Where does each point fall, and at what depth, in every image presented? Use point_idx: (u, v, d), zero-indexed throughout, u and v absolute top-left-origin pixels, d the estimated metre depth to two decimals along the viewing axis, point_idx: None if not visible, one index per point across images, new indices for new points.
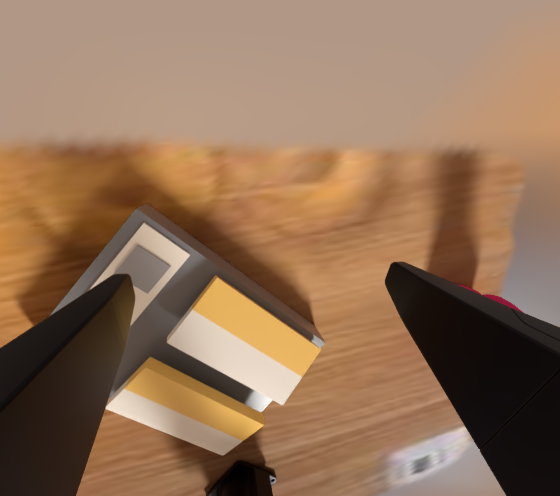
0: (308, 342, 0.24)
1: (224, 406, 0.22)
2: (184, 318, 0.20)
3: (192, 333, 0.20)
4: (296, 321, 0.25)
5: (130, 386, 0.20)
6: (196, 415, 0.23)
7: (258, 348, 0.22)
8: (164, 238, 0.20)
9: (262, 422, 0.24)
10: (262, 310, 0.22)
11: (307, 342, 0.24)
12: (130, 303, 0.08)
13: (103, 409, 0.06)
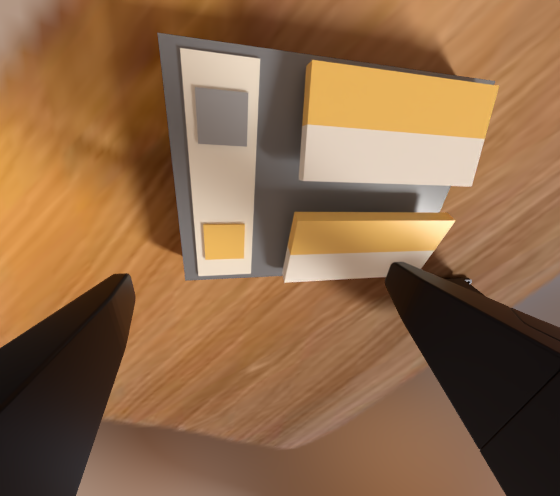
0: (477, 85, 0.16)
1: (401, 221, 0.18)
2: (304, 143, 0.15)
3: (324, 154, 0.15)
4: (441, 74, 0.17)
5: (294, 249, 0.18)
6: (373, 247, 0.20)
7: (412, 130, 0.16)
8: (216, 55, 0.13)
9: (451, 218, 0.19)
10: (394, 73, 0.14)
11: (475, 85, 0.16)
12: (130, 303, 0.08)
13: (103, 408, 0.06)
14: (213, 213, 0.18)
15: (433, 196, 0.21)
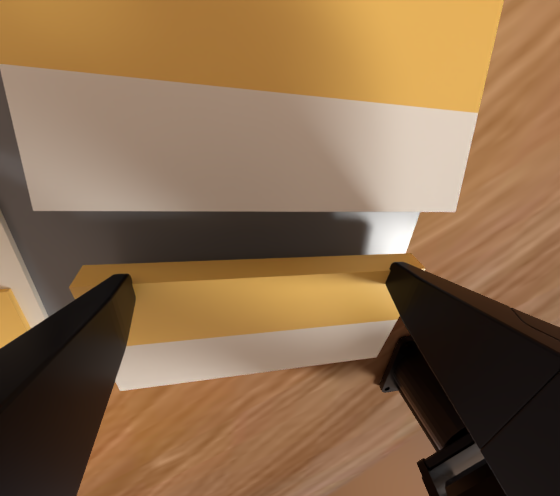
0: None
1: (315, 276, 0.09)
2: None
3: (77, 145, 0.06)
4: None
5: None
6: (276, 323, 0.10)
7: (307, 90, 0.07)
8: None
9: (418, 265, 0.10)
10: None
11: None
12: (130, 303, 0.08)
13: (104, 409, 0.06)
14: None
15: (392, 225, 0.12)
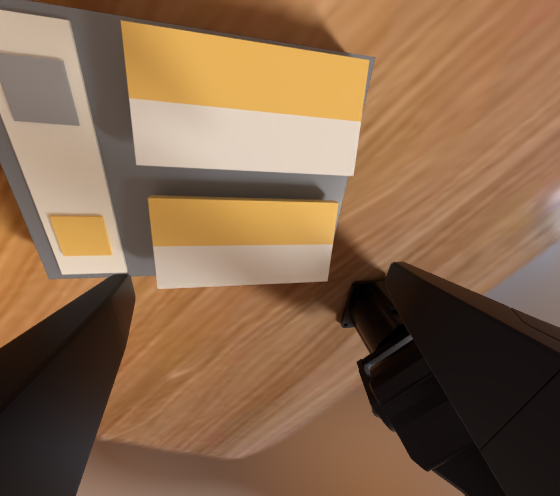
0: (341, 58, 0.14)
1: (274, 202, 0.17)
2: None
3: (158, 134, 0.13)
4: None
5: (156, 238, 0.16)
6: (255, 238, 0.18)
7: (267, 109, 0.14)
8: (10, 14, 0.11)
9: (335, 202, 0.18)
10: (232, 40, 0.12)
11: (339, 59, 0.14)
12: (130, 303, 0.08)
13: (103, 409, 0.06)
14: (60, 203, 0.16)
15: (329, 189, 0.19)
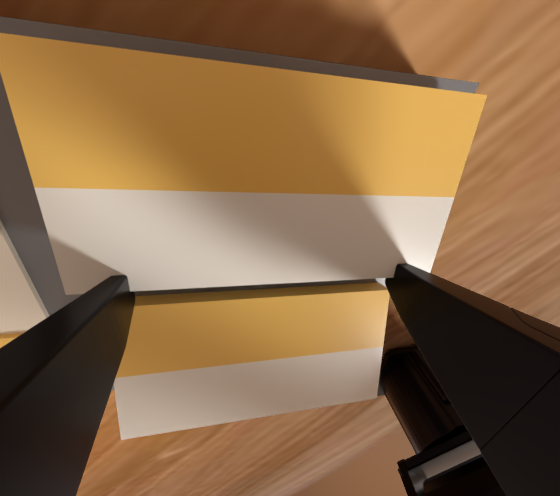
0: (439, 94, 0.07)
1: (298, 297, 0.11)
2: None
3: (101, 244, 0.07)
4: None
5: None
6: (271, 350, 0.12)
7: (299, 189, 0.08)
8: None
9: (384, 288, 0.12)
10: (237, 68, 0.06)
11: (435, 95, 0.07)
12: (130, 303, 0.08)
13: (103, 409, 0.06)
14: None
15: None
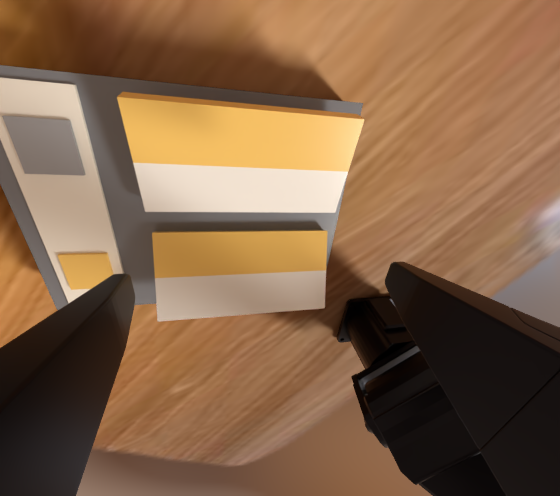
0: (336, 119, 0.14)
1: (267, 232, 0.18)
2: None
3: (162, 189, 0.15)
4: None
5: (158, 270, 0.17)
6: (251, 266, 0.19)
7: (260, 165, 0.15)
8: (21, 81, 0.12)
9: (324, 230, 0.20)
10: (227, 109, 0.13)
11: (334, 120, 0.14)
12: (130, 303, 0.08)
13: (103, 409, 0.06)
14: (67, 243, 0.17)
15: (322, 220, 0.20)
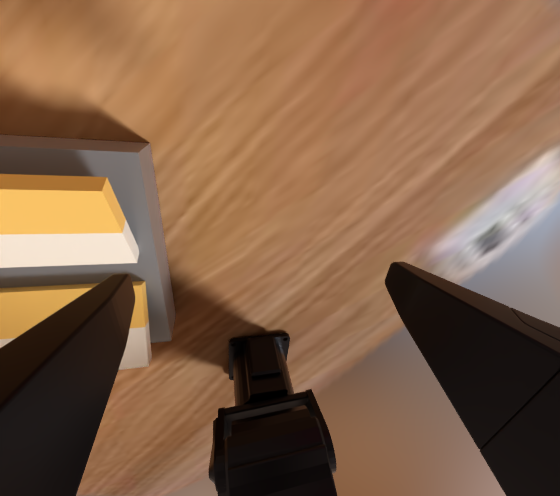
0: (62, 192, 0.12)
1: (64, 290, 0.17)
2: None
3: None
4: (56, 147, 0.14)
5: None
6: None
7: (1, 232, 0.13)
8: None
9: (139, 284, 0.18)
10: None
11: (60, 193, 0.12)
12: (130, 303, 0.08)
13: (103, 409, 0.06)
14: None
15: (140, 271, 0.18)
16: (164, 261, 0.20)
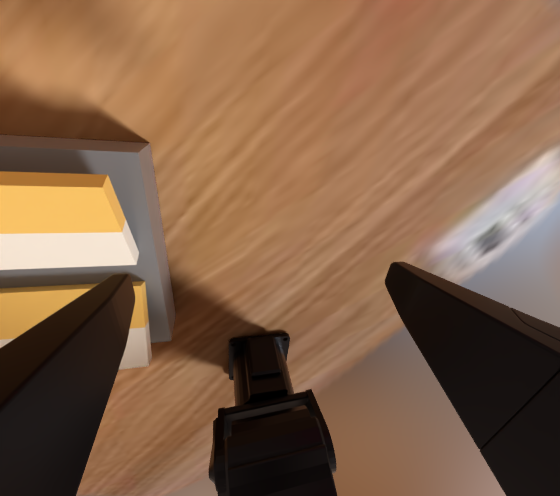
0: (63, 188, 0.12)
1: (63, 291, 0.16)
2: None
3: None
4: (56, 147, 0.14)
5: None
6: None
7: (0, 232, 0.13)
8: None
9: (139, 285, 0.18)
10: None
11: (61, 189, 0.12)
12: (130, 303, 0.08)
13: (103, 409, 0.06)
14: None
15: (140, 271, 0.18)
16: (164, 261, 0.20)
